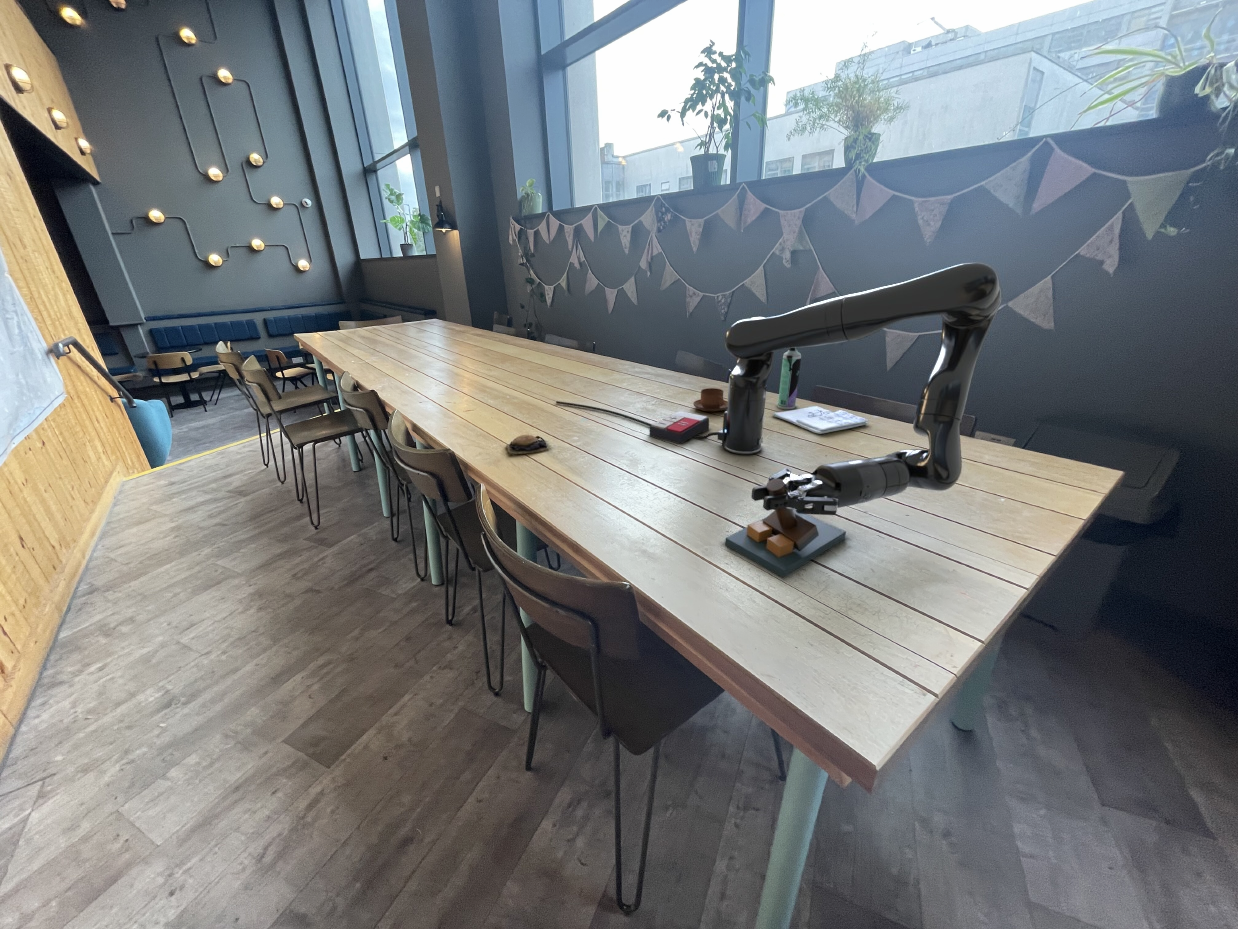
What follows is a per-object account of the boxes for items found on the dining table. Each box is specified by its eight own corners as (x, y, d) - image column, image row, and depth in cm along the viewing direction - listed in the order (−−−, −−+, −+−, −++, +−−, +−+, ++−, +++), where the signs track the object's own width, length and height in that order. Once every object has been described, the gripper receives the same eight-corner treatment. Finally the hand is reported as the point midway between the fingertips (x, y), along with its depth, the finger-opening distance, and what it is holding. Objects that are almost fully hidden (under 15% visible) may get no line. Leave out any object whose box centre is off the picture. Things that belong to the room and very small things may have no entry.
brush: (765, 529, 84) (748, 483, 78) (784, 514, 85) (767, 467, 79) (799, 551, 77) (783, 502, 71) (819, 535, 78) (804, 485, 72)
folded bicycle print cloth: (819, 435, 131) (821, 428, 130) (771, 416, 148) (771, 409, 147) (869, 425, 138) (870, 418, 137) (817, 407, 155) (818, 401, 154)
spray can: (796, 409, 154) (803, 347, 146) (778, 409, 155) (785, 347, 147) (793, 404, 158) (801, 344, 150) (776, 404, 160) (783, 344, 152)
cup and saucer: (736, 408, 157) (737, 390, 155) (717, 416, 149) (718, 397, 147) (706, 402, 165) (706, 384, 162) (686, 410, 157) (686, 392, 154)
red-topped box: (648, 423, 133) (678, 408, 143) (649, 437, 135) (678, 421, 145) (680, 431, 127) (709, 415, 137) (680, 446, 129) (709, 428, 138)
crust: (766, 548, 79) (767, 538, 78) (779, 543, 80) (780, 533, 79) (779, 557, 76) (780, 547, 76) (792, 552, 78) (794, 542, 77)
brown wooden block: (746, 534, 83) (747, 524, 82) (759, 530, 84) (760, 520, 83) (758, 542, 81) (759, 532, 80) (771, 538, 82) (772, 528, 81)
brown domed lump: (509, 457, 124) (507, 444, 122) (506, 446, 131) (504, 433, 130) (549, 451, 127) (548, 438, 125) (543, 440, 134) (542, 428, 132)
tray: (724, 544, 83) (725, 537, 82) (787, 512, 92) (788, 506, 92) (782, 577, 74) (783, 570, 73) (844, 538, 84) (846, 531, 83)
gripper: (823, 448, 84) (738, 461, 80) (884, 479, 72) (787, 497, 68) (817, 485, 87) (735, 500, 83) (875, 522, 75) (781, 541, 71)
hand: (759, 499), depth 75 cm, fingers closed on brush, 3 cm apart
